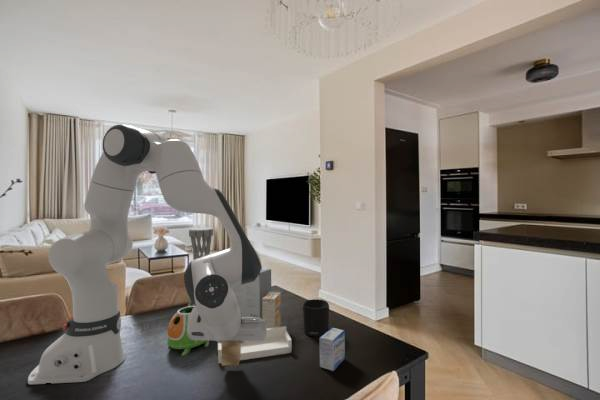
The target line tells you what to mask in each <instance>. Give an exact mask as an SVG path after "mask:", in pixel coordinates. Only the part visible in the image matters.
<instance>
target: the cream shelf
mask: <svg viewBox="0 0 600 400" xmlns="http://www.w3.org/2000/svg"><path fill="white" fill-rule="evenodd" d="M292 346H293V344H292V338H291V336H290V334H289V332H288V331H287V326H286V325H284V326H281V327H275V328H267V331H266V339H265V340H263V341H245V343H244V344H243V343H241V358H240V361H245V360H250V359H251V360H252V359H258V358H265V357H272V356H279V355H286V354H290V353H291V354H292V352H293V351H292V349H293V347H292ZM217 360H218V361H217V364H222V343H218V342H217Z"/></svg>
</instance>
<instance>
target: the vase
mask: <svg viewBox="0 0 600 400" xmlns="http://www.w3.org/2000/svg"><path fill="white" fill-rule="evenodd" d="M188 236H189V238H190V242H191V246H192V256H193V257H192V260H195V259H197V258H200V257H203V256H206V255H209V254H211V253H210V251H211V243H212V236H214V228H213V227H207V226H206V227H192V228H188ZM201 240H202V245H201ZM188 306H196V305H195V304H194V303H192V301H191V300H190V298H189V300H188V304H187V307H188Z"/></svg>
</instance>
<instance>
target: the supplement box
mask: <svg viewBox="0 0 600 400" xmlns="http://www.w3.org/2000/svg"><path fill="white" fill-rule="evenodd" d="M281 293H282V292H281V291H271V292H268V293H267V294H266V295H265V296H264V297H263V298H262V319H263V321H265V322H266V327H267V328H275V327H282V319H281V318H282V317H281V316H282V310H281V309H282V308H281V306H282V305H281V303H282V301H281V297H282V296H281V295H282V294H281Z"/></svg>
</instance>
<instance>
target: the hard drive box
mask: <svg viewBox="0 0 600 400" xmlns="http://www.w3.org/2000/svg"><path fill="white" fill-rule="evenodd" d="M232 289H233V291H234V293H235V295H236V298H237V302H238V306H239V309H240V312H241V315H242V317H258V318H261V319H262V298H263V297H264V296H265V295H266V294H267V293H268V292H272V269H271V268H266V267H265V268H264V267H262V269H261V271H260V273H259V275H258V277H257V278H256V279H255V281H253V282H249V283H246V284H242V285H241V284H240V285H238V286H235V287H232Z"/></svg>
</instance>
